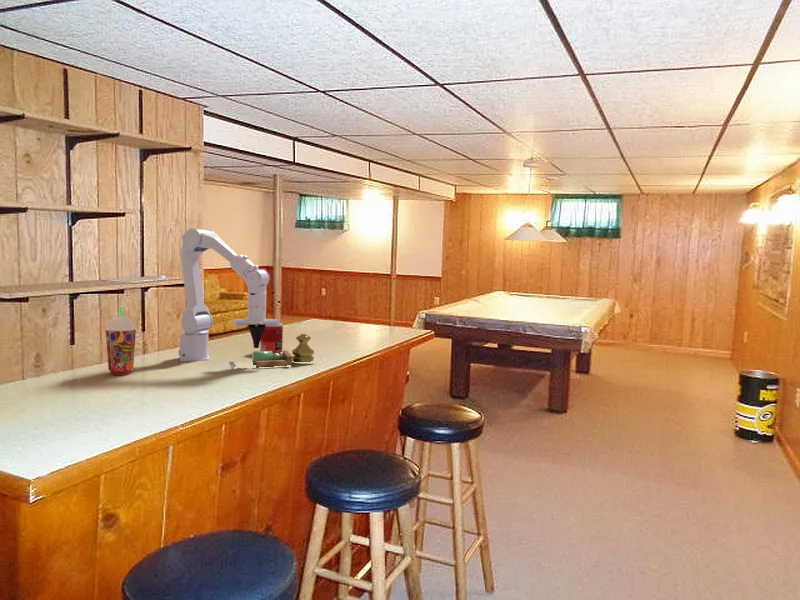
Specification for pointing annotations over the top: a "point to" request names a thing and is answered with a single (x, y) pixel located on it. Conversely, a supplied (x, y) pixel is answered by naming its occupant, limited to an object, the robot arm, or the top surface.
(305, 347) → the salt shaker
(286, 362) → the cradle
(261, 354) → the bottle
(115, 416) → the top surface
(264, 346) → the canned food
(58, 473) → the top surface
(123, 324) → the smoothie
